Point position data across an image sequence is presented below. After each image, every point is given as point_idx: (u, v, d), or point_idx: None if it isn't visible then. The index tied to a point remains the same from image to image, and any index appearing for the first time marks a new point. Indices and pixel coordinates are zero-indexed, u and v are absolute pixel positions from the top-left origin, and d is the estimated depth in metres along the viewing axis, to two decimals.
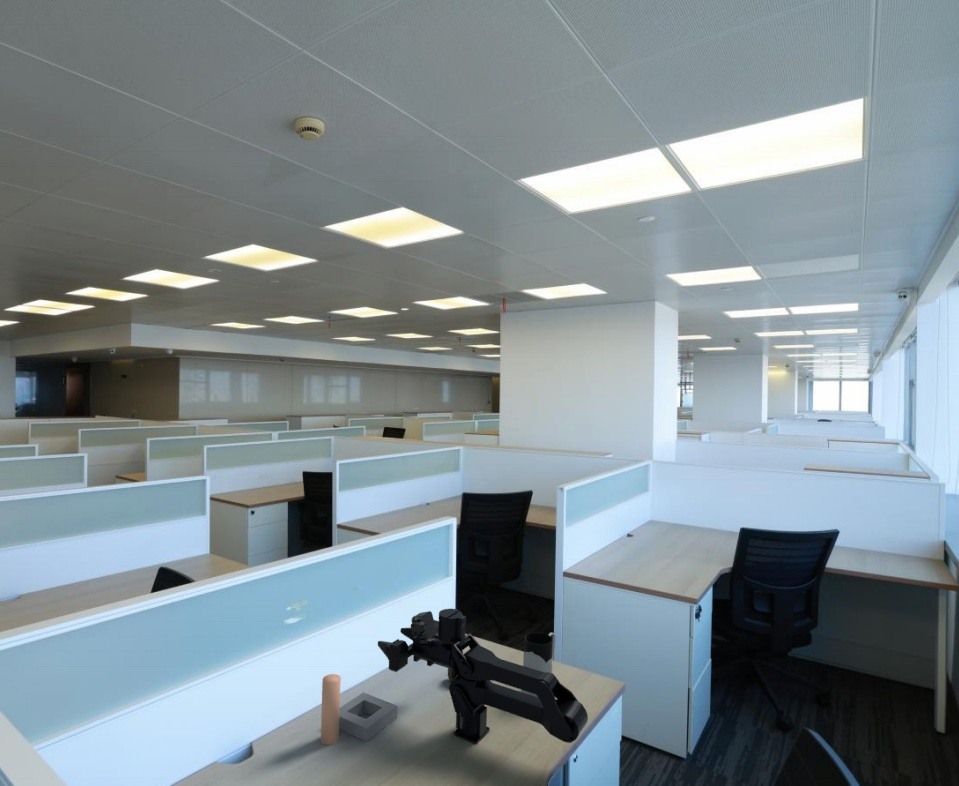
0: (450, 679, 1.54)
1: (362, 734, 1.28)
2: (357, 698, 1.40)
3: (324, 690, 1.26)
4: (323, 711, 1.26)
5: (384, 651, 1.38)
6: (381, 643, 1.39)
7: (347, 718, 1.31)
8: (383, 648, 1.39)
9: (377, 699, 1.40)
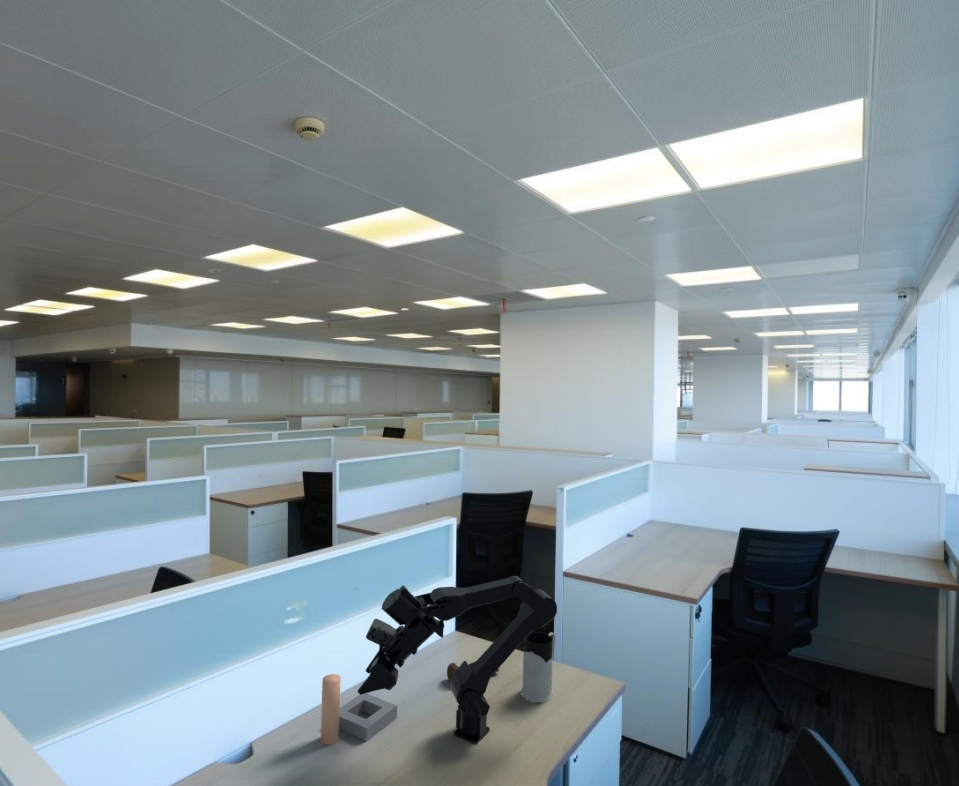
0: (450, 679, 1.54)
1: (362, 734, 1.28)
2: (357, 698, 1.40)
3: (324, 690, 1.26)
4: (323, 711, 1.26)
5: (370, 689, 1.22)
6: (361, 687, 1.23)
7: (347, 718, 1.31)
8: (367, 688, 1.23)
9: (377, 699, 1.40)
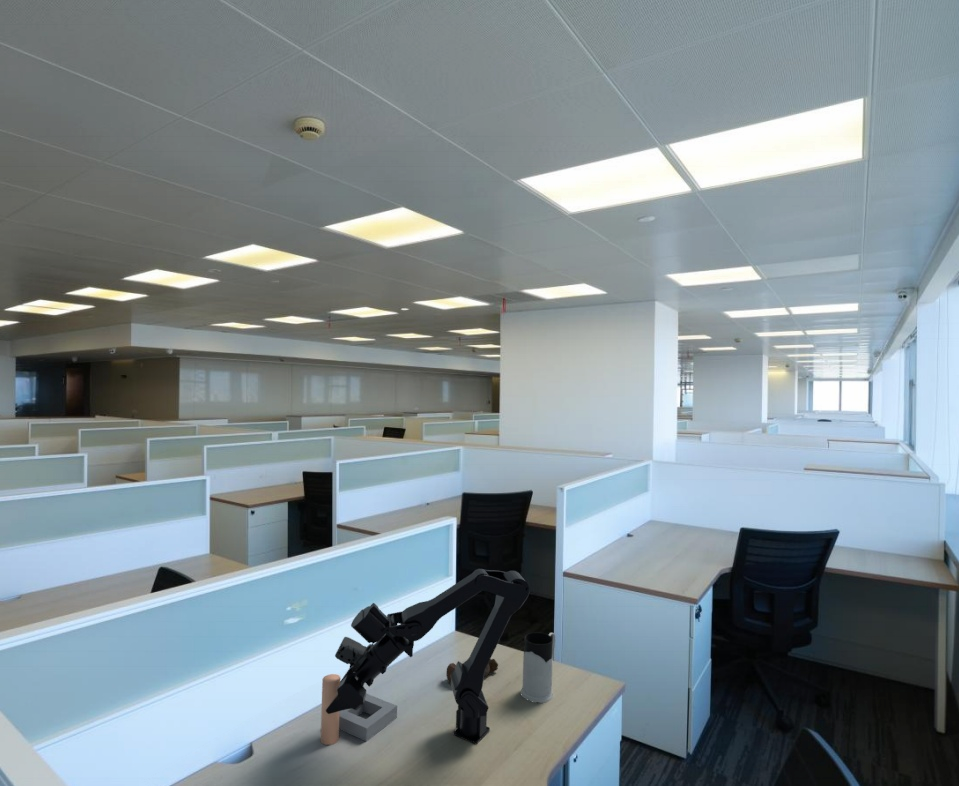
0: (450, 680, 1.54)
1: (362, 734, 1.28)
2: None
3: (324, 690, 1.26)
4: (323, 711, 1.26)
5: (338, 708, 1.22)
6: (329, 706, 1.23)
7: (347, 718, 1.31)
8: (335, 707, 1.22)
9: (377, 699, 1.40)
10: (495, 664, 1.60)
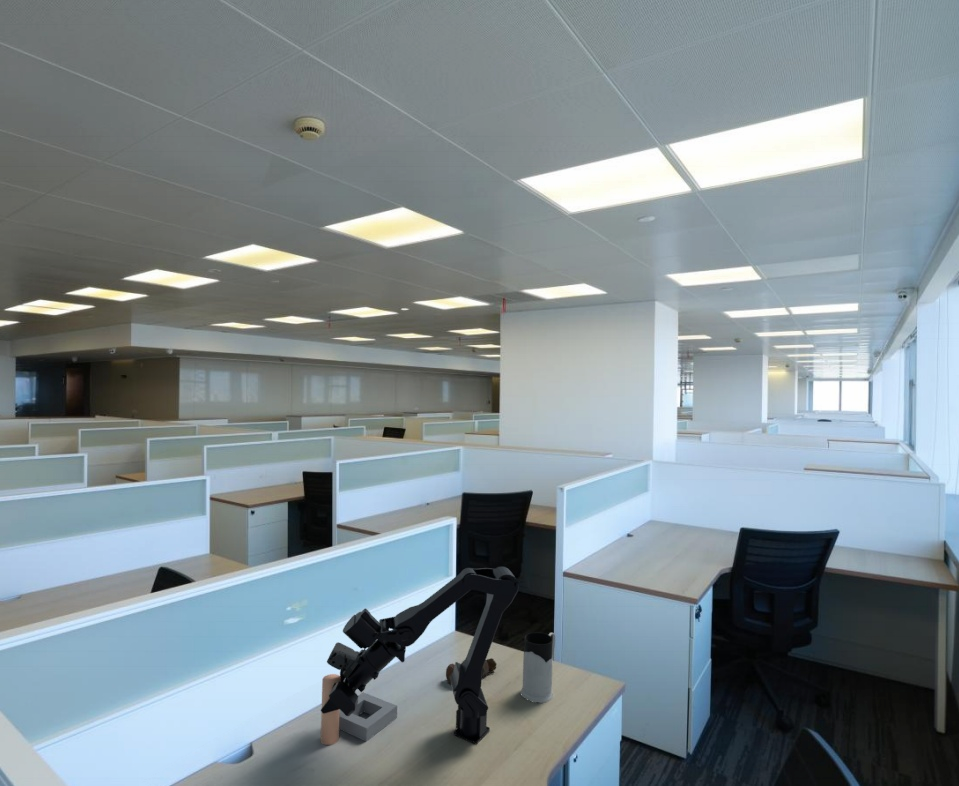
0: (449, 680, 1.54)
1: (362, 734, 1.28)
2: None
3: (324, 690, 1.26)
4: None
5: (333, 708, 1.25)
6: (324, 706, 1.25)
7: (347, 718, 1.31)
8: (330, 707, 1.25)
9: (377, 699, 1.40)
10: (494, 663, 1.61)
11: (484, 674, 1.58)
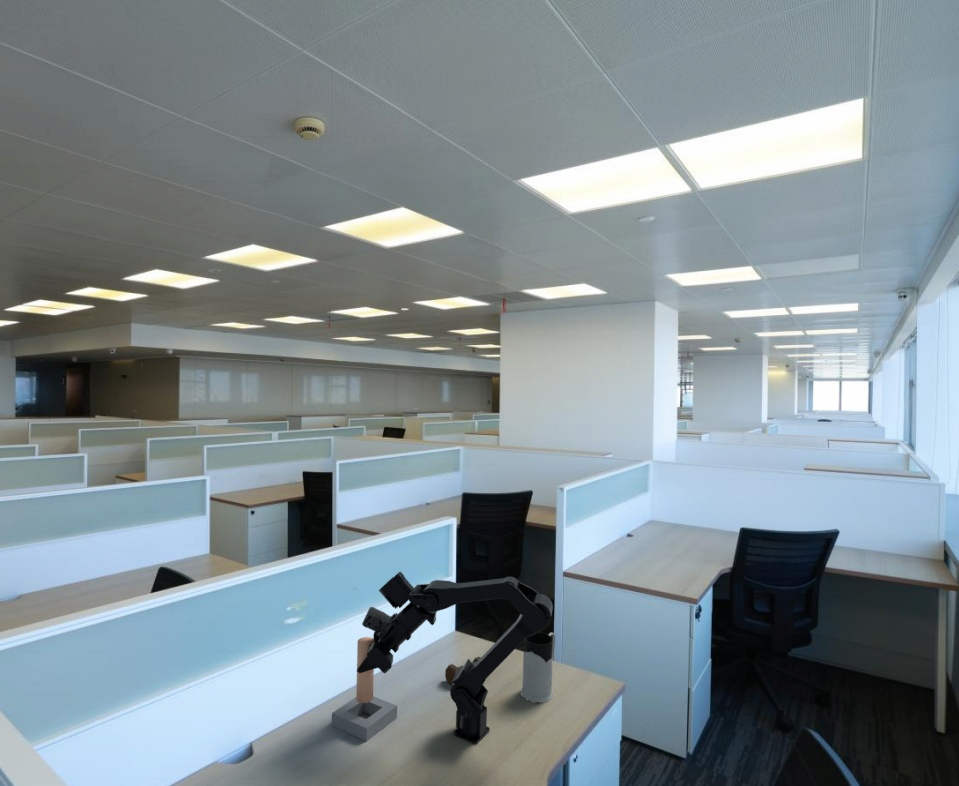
0: (449, 681, 1.53)
1: (362, 734, 1.28)
2: None
3: (359, 651, 1.33)
4: None
5: (369, 668, 1.32)
6: (360, 666, 1.32)
7: (347, 718, 1.31)
8: (366, 667, 1.32)
9: (377, 699, 1.40)
10: None
11: None
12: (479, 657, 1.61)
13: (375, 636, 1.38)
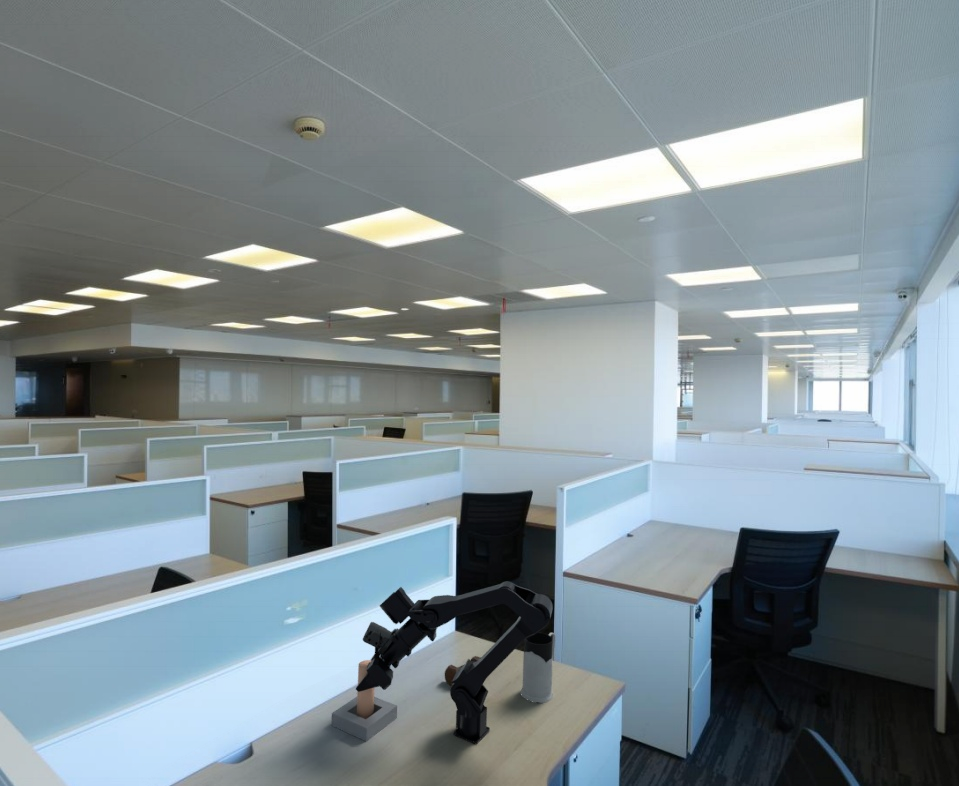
0: (450, 682, 1.53)
1: (362, 734, 1.28)
2: None
3: (360, 675, 1.33)
4: (359, 695, 1.34)
5: (368, 686, 1.31)
6: (359, 685, 1.31)
7: (347, 718, 1.31)
8: (365, 686, 1.31)
9: (377, 699, 1.40)
10: None
11: None
12: (476, 656, 1.61)
13: (376, 648, 1.39)
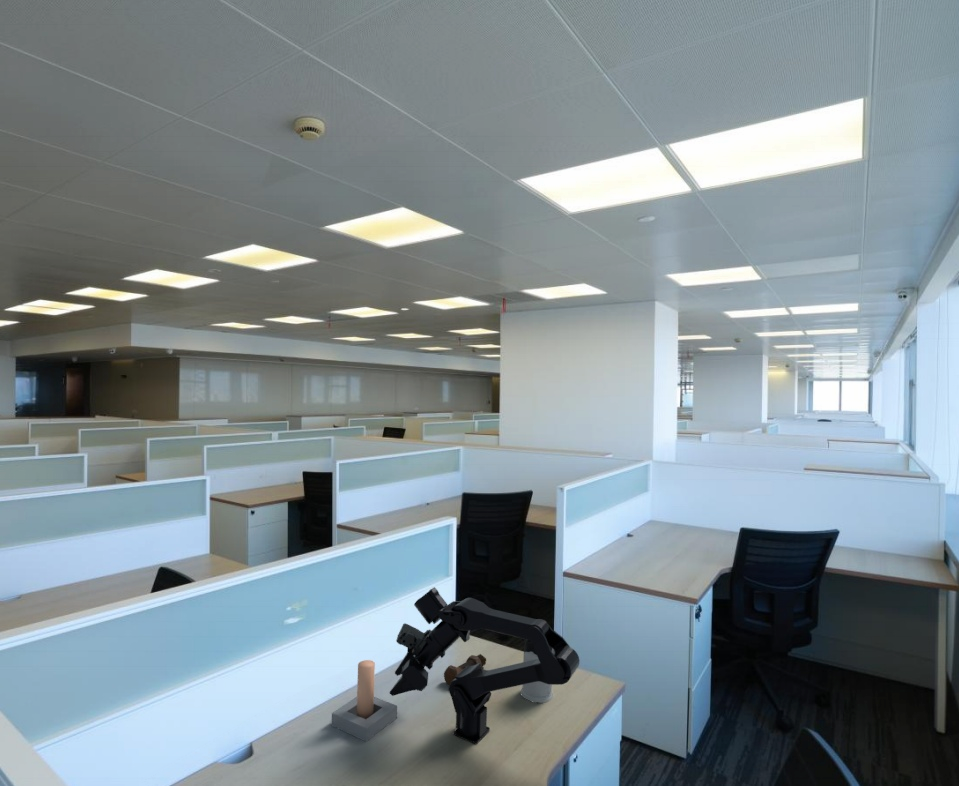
0: (450, 682, 1.53)
1: (362, 734, 1.28)
2: None
3: (360, 675, 1.33)
4: (359, 695, 1.34)
5: (402, 690, 1.29)
6: (393, 689, 1.30)
7: (347, 718, 1.31)
8: (399, 689, 1.30)
9: (377, 699, 1.40)
10: (484, 659, 1.63)
11: None
12: (473, 655, 1.62)
13: (409, 648, 1.40)
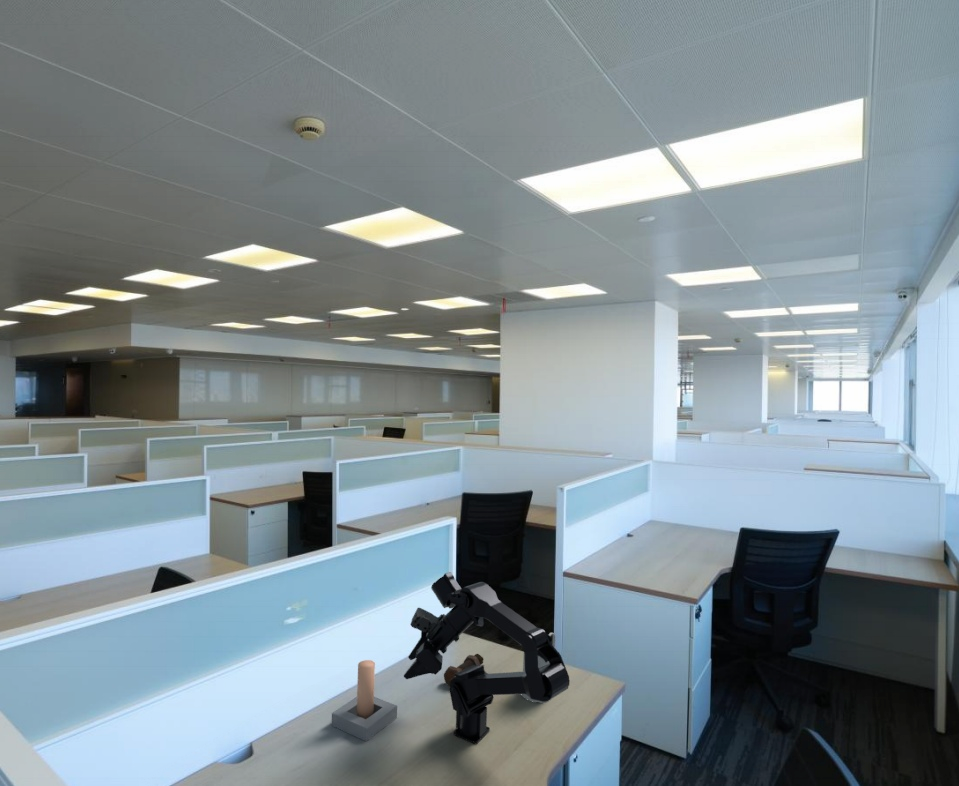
0: None
1: (362, 734, 1.28)
2: None
3: (360, 675, 1.33)
4: (359, 695, 1.34)
5: (416, 674, 1.29)
6: (408, 672, 1.30)
7: (347, 718, 1.31)
8: (413, 673, 1.29)
9: (377, 699, 1.40)
10: (481, 658, 1.64)
11: None
12: (470, 655, 1.62)
13: (423, 632, 1.40)
